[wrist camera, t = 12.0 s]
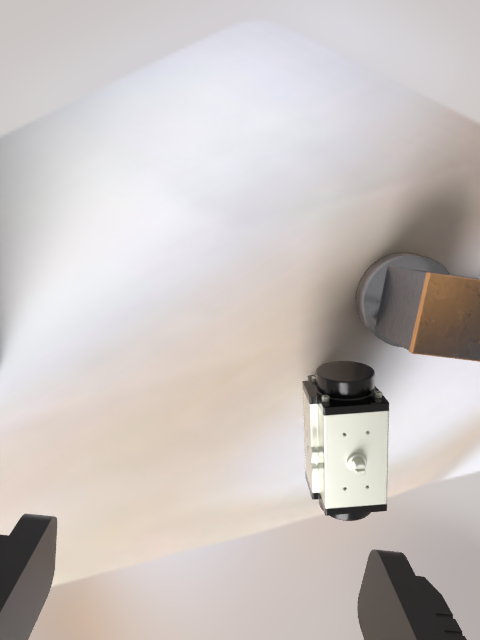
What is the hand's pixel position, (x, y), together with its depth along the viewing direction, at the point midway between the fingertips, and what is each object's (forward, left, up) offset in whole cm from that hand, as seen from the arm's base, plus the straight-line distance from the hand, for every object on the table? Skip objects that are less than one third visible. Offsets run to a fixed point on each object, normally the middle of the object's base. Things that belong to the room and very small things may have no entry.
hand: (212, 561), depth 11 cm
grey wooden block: (+16, +3, -27) cm, 32 cm away
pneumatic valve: (+11, -8, -30) cm, 33 cm away
